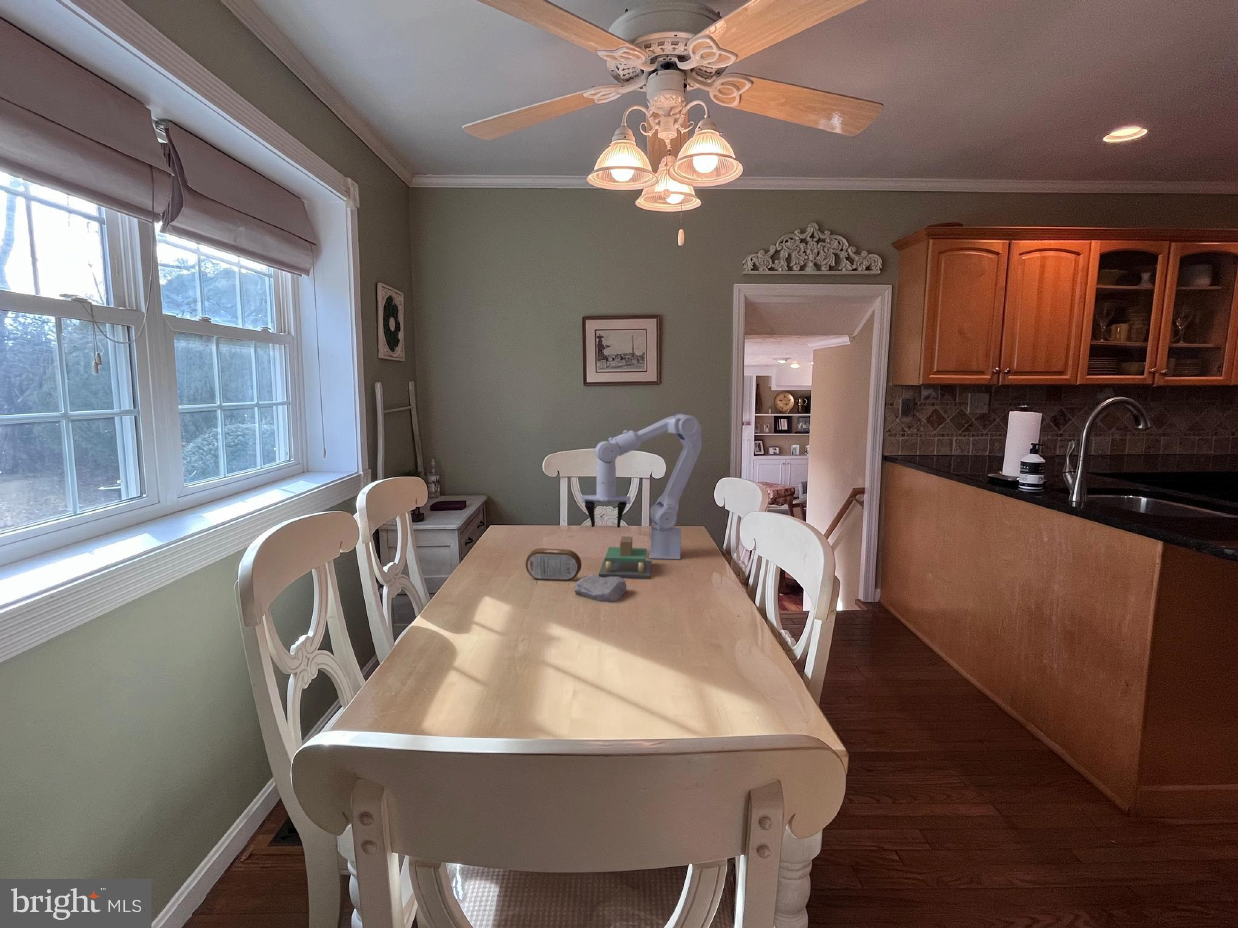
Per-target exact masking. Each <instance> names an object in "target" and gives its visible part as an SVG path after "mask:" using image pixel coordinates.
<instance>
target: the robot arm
mask: <svg viewBox="0 0 1238 928" xmlns="http://www.w3.org/2000/svg"><path fill="white" fill-rule="evenodd" d="M666 433H669V434H675V435H676V436H677V437H678V438H679V440H680V444H681V445H682V450H681V452H680V454H679V456H678V459H677V460H676V464H675V466H674V468H673V470H672V473H671V475H670V477H669V479H668V482H667V484H666V486H665V489H664V490H663V493H662V494H661V495H660V496H659V497H658V498H657V501H656V502H655V503H654V504H653V505H652V506H651V507H650V509H649V517H650V519H651V520H652V523H651V524H650V549H649V553H648V554H649V555H648V558H649V559H659V560H660V559H661V560H667V559H668V560H681V553H682V547H683V546H682V545H681V544H682V543H681V542H682V539H681V538H682V536H681V535H682V533H681V532H682V530H681V529H682V528H681V527H675V525H676V524H677V521H678V516H677V515H678V512H679V508H680V507H679V504H680V503H679V501H680V499H681V497H682V494H683V492H684V490H685V488H686V485H687V483H688V481H689V478H690V476H691V473H692V471H693V469H694V467H695V465H696V462H697V459H698V458H699V455H700V453H701V451H702V447H703V446H702V445H703V444H702V443H703V442H702V436H701V435H702V434H701V433H702V426H701V424H700V422H699V420H698V418H697V417H696V416H693V415H690V414H688V415H687V414H685V413H676V414H675V415H671V416H667V417H666V418H664V419H660V420H658V421H657V422H655V423H653V424H651V425H649V426H647V427H645V428H643V429H641V430H638V431H634V430H629V431H628V430H627V429H626V430H623V431H622V434H620V435H617V436H615V437H609V438H608V441H606V440H604V441H601V442H599V443H597V445H596V447H595V450H594V455H595V456H596V494H587V495H585V494H584V495H583V494H582V495H581V503H582V504H583V503H584V508H585V510H586V511H587V513H588V516H589V520H590V523H591V527H592V528H594V527H595V526H596V520H595V518H596V517H595V513H596V512H595V508H596V507H595V505H596V504H597V503H600V504H604V503H605V504H617V523H616V528H618V529H619V528H620V527H621V521H622V518H623V514H624V512H625V509H626V507H627V506H628V505H631V496H629V495H628V496H627V495H626V496H625V495H617V493H616V483H617V482H616V480H617V476H616V472H617V471H616V469H617V468H616V467H617V466H616V460H617V458H618V457H621V456H623V455H626V454H628V453H630V452H632V451H634V450H637V449H639V448H640V446H641V443H642V442H644V441H648V440H650V439H653V438H656V437H657V436H661V435H663V434H666Z"/></svg>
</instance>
